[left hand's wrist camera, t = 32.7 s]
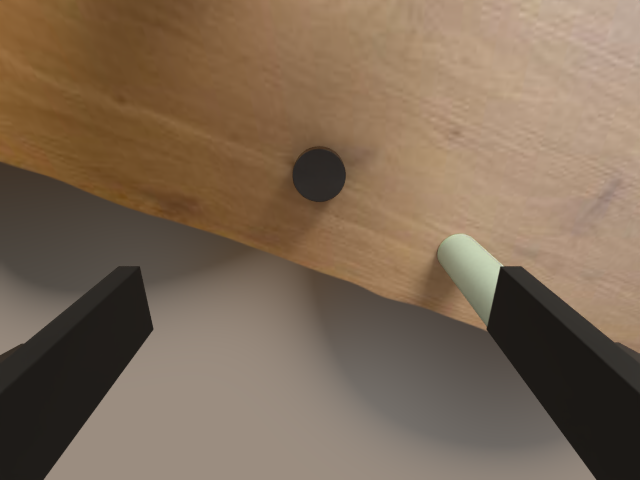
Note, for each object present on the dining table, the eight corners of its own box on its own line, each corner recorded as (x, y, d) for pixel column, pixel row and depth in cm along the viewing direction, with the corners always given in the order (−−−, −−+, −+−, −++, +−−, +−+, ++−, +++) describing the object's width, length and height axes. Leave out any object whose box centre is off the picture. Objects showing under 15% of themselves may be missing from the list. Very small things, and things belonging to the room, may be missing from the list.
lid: (289, 189, 38) (287, 194, 36) (300, 140, 36) (299, 142, 34) (336, 201, 39) (337, 207, 37) (350, 153, 37) (352, 156, 35)
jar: (441, 232, 40) (510, 306, 26) (481, 234, 40) (572, 310, 26) (433, 268, 42) (494, 357, 27) (472, 270, 42) (553, 360, 27)
